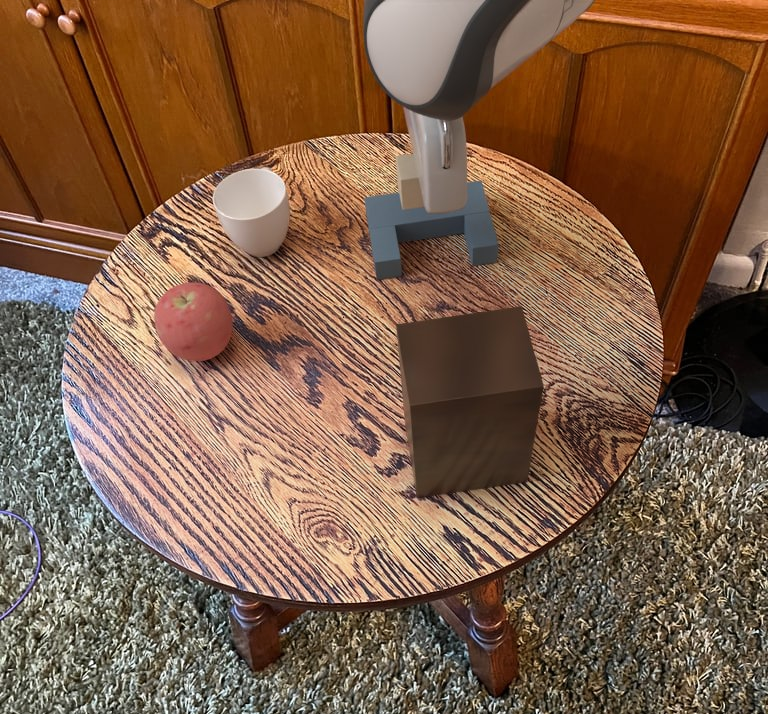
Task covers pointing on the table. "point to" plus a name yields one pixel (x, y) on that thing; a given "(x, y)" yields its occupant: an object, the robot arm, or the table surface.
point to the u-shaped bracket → (428, 228)
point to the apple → (193, 321)
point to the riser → (469, 400)
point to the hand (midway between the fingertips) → (430, 185)
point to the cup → (253, 210)
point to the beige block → (408, 182)
